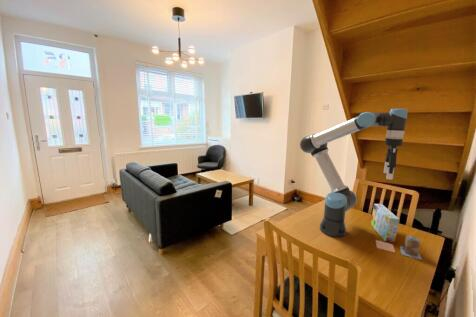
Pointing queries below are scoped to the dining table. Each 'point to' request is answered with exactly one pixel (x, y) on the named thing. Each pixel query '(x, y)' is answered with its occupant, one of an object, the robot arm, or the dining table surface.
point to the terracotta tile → (385, 246)
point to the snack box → (385, 223)
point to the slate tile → (408, 254)
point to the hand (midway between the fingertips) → (387, 176)
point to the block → (411, 245)
